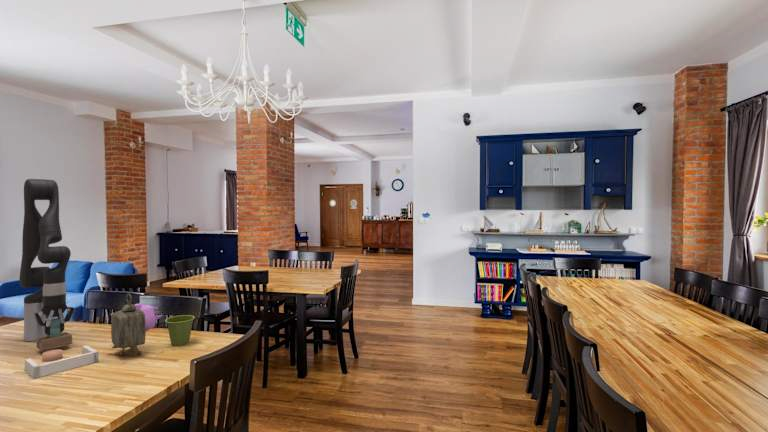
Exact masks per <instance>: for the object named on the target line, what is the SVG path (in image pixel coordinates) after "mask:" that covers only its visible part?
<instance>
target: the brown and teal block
mask: <svg viewBox="0 0 768 432" xmlns="http://www.w3.org/2000/svg"><path fill="white" fill-rule="evenodd" d="M49 326H50V335H47V336H44V337H39V338H37V341H36V348H37V349H38V350H40V351H43V352H45V351H49V350H53V349H56V348H57V349H58V348H61V347H65V346H70V345H73V334H71V333H69V332H67V331H65V332H64V331H63V332H62V333H60V319H58V317H53V318H52V320H51V322H50V325H49Z"/></svg>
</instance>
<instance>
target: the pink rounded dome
mask: <svg viewBox="0 0 768 432" xmlns="http://www.w3.org/2000/svg"><path fill="white" fill-rule="evenodd" d="M41 356H42V359H41V360H42V362H43V363H49V362H53V361H57V360H61V359H62V358H63V349H59V348H57V349H56V348H54V349H48V350H45V351H43V352H42V355H41Z"/></svg>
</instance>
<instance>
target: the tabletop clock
mask: <svg viewBox="0 0 768 432" xmlns="http://www.w3.org/2000/svg"><path fill="white" fill-rule="evenodd" d="M128 296H129V298H130V299H129V298H128ZM125 298H126V302H127V304H125V305H124V306H123V307H122V309H121V310H117V311H115V312H113V313H114V314H112V313H111V314H112V316H111V320H110V321H111V324H110V325H111V326H110V327H111V328H110V331H111V335H110V337H111V343H112V344H113V346H114V345H115V346H116V347H118V348H117V349H121V351H120V352H119V354H120V356H123V355H125V354H126V353H125V349H128V348H129V349H131V350H132V349H135V350H136V355H137V356H140V355H141V354H142V353H143V352H142V351H141V350H139V348H138V346H141V345H145V344H146V333H147V332H146V330H147V329H146V324H145V313H144V312H143V311H142V310H141V309H139V308H136V306H135V304H133V303H132V301H133V297H132V295H131V293H128V292H127V293H126V297H125ZM128 299H129V300H128Z"/></svg>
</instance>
